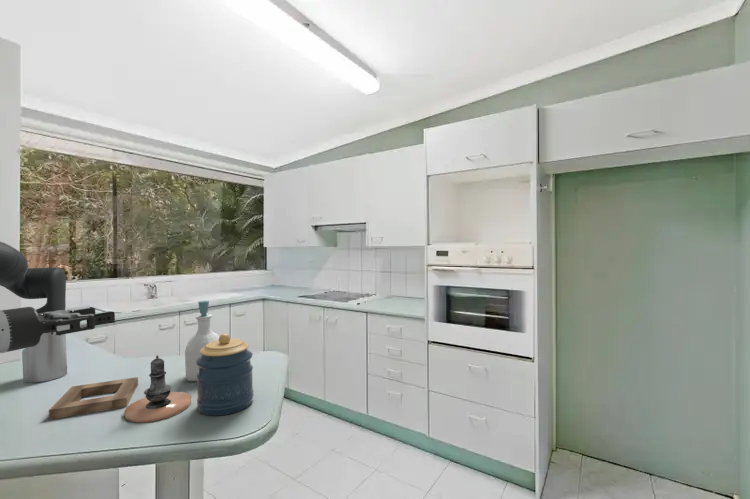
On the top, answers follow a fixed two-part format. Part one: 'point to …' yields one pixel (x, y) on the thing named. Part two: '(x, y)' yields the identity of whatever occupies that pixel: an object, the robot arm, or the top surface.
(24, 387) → the top surface
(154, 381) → the salt shaker
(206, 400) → the canister
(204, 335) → the soap bottle
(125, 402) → the wooden square frame
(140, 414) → the saucer
